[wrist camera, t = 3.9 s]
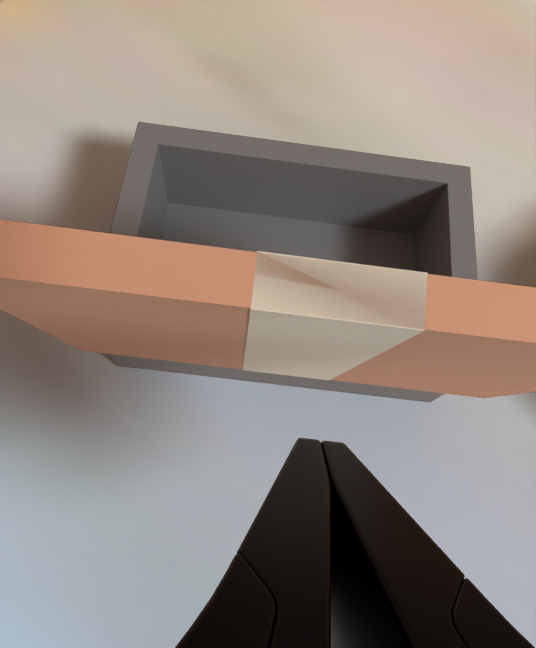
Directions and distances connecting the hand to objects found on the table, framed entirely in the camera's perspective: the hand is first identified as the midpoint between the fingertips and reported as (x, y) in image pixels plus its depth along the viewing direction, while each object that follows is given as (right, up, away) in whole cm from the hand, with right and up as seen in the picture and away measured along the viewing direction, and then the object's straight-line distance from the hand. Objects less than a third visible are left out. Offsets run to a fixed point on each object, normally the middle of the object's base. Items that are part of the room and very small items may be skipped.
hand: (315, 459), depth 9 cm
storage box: (0, +4, +15) cm, 15 cm away
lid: (0, +3, +4) cm, 5 cm away
